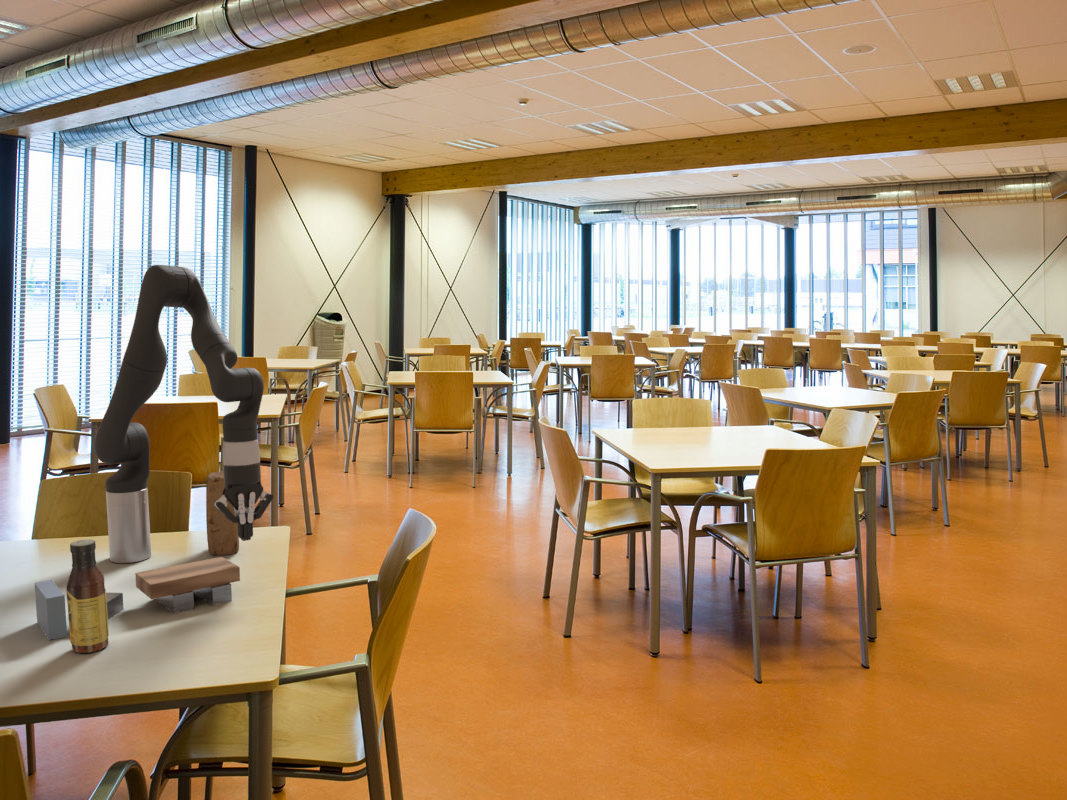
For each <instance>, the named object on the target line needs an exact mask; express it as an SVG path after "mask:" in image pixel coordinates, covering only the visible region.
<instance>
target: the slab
mask: <svg viewBox="0 0 1067 800" xmlns="http://www.w3.org/2000/svg"><path fill="white" fill-rule="evenodd" d="M240 572H241V571H240V566H239V565H237V564H235V563H234V562H232V561H230V560H228V559H226V558H225V557H223V556H218V557H214V558H213V557H211V558H207V559H201V560H196V561H192V562H191V561H190V562H187V563H180V564H176V565H169V566H165V567H160V568H155V569H151V570H150V569H149V570H143V571H137V572H135V574H134V575H135V587H136V589H138V590H139V591H140V592H142V593H143V594H144V595H145V596H146V597H148V598H149V599H150V600H154V599H155V598H160V597H165V596H170V595H175V594H179V593H184V592H189V591H194V590H198V589H203V588H208V587H213V586H217V585H222V584H227V583H230V584H233V583H237V582H241V575H240V574H241V573H240ZM155 600H156V599H155Z"/></svg>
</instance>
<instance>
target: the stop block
mask: <svg viewBox="0 0 1067 800" xmlns="http://www.w3.org/2000/svg"><path fill="white" fill-rule="evenodd" d="M34 595H35V609H36V622H38V623H37V624H38V626H39V625H40V626H39V627H40V629H41V628H42V629H41V630H42V632H43V631H44V632H43V634H44V635H45V634H46V635H45V637H46V638H47V637H48V638H47V639H48V641H52V640H51V639H54V640H59V639H62V637H63V638H67V637H68V625H67V611H66V610H67V609H66V598H65V595H66V594H65V593H64V592H62V590H61V589H60V588H59V586H57V584H56V583H55V582H54V581H53V579H48V580H42V581H37V582H34ZM58 638H59V639H58Z"/></svg>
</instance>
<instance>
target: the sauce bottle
mask: <svg viewBox="0 0 1067 800" xmlns="http://www.w3.org/2000/svg"><path fill="white" fill-rule="evenodd" d="M69 547H70V548H69V551H70V553H71V561H72V562H71V567H72V568H71V571H70V574H69V578H68V581H67V582H66V583H67V584H66V587H65V590H66V603H67V604H66V605H67V613H68V614H67V615H68V616H67V617H68V630H69V641H70V644H71V649H72V651H73V652H74V653H76V652H77V653H78V654H79V653H80V654H88V653H95V652H99V651H101V650H103V649H105V648H106V647H107V646H108V645H109V635H110V631H109V630H110V629H109V619H108V615H107V602H106V593H107V591H106V587H105V577H104V574H103V573H102V571H101V570H100V569H99V568H98V566H97V560H96V548H97V547H96V540H95V539H92V538H91V539H89V538H86V539H79V540H75V541H72V542H71V543H70V545H69ZM77 653H76V654H77Z"/></svg>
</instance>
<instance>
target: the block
mask: <svg viewBox="0 0 1067 800" xmlns="http://www.w3.org/2000/svg"><path fill="white" fill-rule="evenodd" d="M205 479H206V480H205V481H206V484H205V486H206V487H205V488H206V489H205V490H206V491H205V492H206V493H205V499H206V500H205V504H206V505H205V508H206V512H205V513H206V516H205V517H206V539H207V549H208V553H209V554H210V555H212V556H213V555H214V556H227V555H229V556H230V555H231V554H232V555H233V554H234V553H237V552H239V550H240V538H239V536H238V526H237V523H233V522H231V521H229V520H228V519H227V518H226V517H225V516H224V515H223V514H222V513H221V512H220V511H219V510H218V509H217V508H216V507H215V506H214V505H213V502H214V501H215V500H218V499H220V498H221V497H222V496H223V490H224V488H225V484H224V470H220V471H212V472H209V473H208V474H207V476H206V478H205ZM226 502H227V508H228V510H229V511H230V512H231V513H232V514H233V515H234V516H235V512H234V507H233V506H232V505H231V504H230V503H229V502H228V501H227V500H226Z"/></svg>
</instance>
